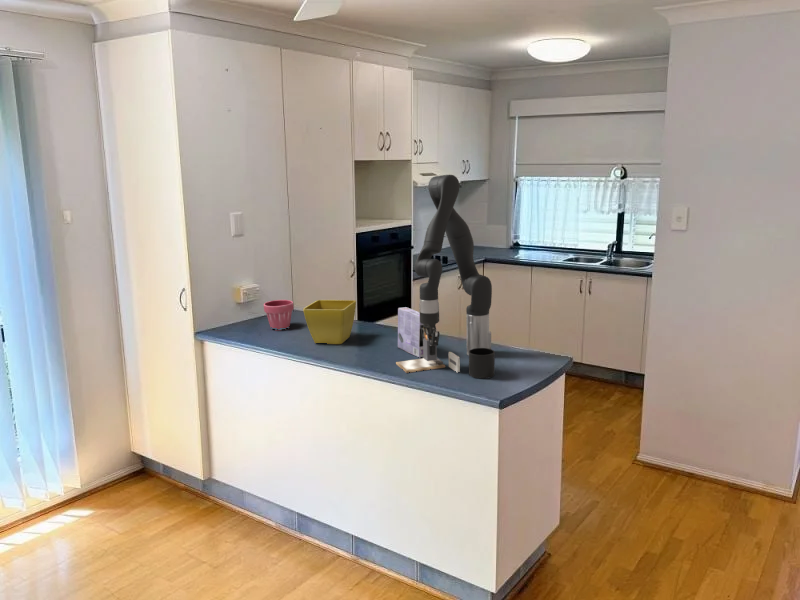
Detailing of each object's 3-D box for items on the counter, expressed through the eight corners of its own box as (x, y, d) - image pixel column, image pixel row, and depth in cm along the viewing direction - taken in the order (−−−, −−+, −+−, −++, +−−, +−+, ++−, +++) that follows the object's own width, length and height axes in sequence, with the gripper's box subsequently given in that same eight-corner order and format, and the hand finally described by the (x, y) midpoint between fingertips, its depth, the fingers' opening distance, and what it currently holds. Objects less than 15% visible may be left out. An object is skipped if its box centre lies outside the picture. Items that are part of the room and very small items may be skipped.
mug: (503, 371, 244) (503, 348, 242) (485, 380, 235) (485, 356, 233) (481, 367, 250) (481, 344, 248) (464, 375, 241) (463, 352, 239)
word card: (451, 366, 252) (450, 351, 251) (459, 372, 245) (459, 357, 244) (448, 366, 252) (448, 352, 251) (457, 372, 245) (456, 357, 243)
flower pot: (304, 345, 288) (302, 308, 284) (319, 334, 306) (317, 299, 302) (345, 347, 283) (343, 309, 279) (358, 335, 301) (356, 300, 297)
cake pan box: (430, 356, 266) (430, 314, 262) (420, 359, 263) (419, 316, 259) (407, 346, 282) (406, 306, 278) (397, 348, 279) (395, 308, 276)
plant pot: (276, 333, 309) (274, 307, 306) (259, 328, 319) (257, 303, 316) (300, 327, 319) (299, 301, 316) (283, 323, 329) (281, 298, 326)
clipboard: (433, 358, 263) (433, 354, 262) (445, 367, 252) (445, 362, 251) (396, 364, 258) (395, 359, 257) (406, 372, 246) (406, 368, 246)
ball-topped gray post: (432, 356, 255) (432, 333, 253) (436, 359, 251) (436, 335, 249) (423, 358, 253) (422, 334, 251) (427, 361, 250) (426, 337, 248)
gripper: (445, 313, 243) (446, 357, 246) (431, 305, 256) (432, 347, 260) (427, 315, 240) (428, 359, 244) (413, 307, 253) (414, 349, 257)
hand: (430, 353), depth 252 cm, fingers closed on ball-topped gray post, 4 cm apart
